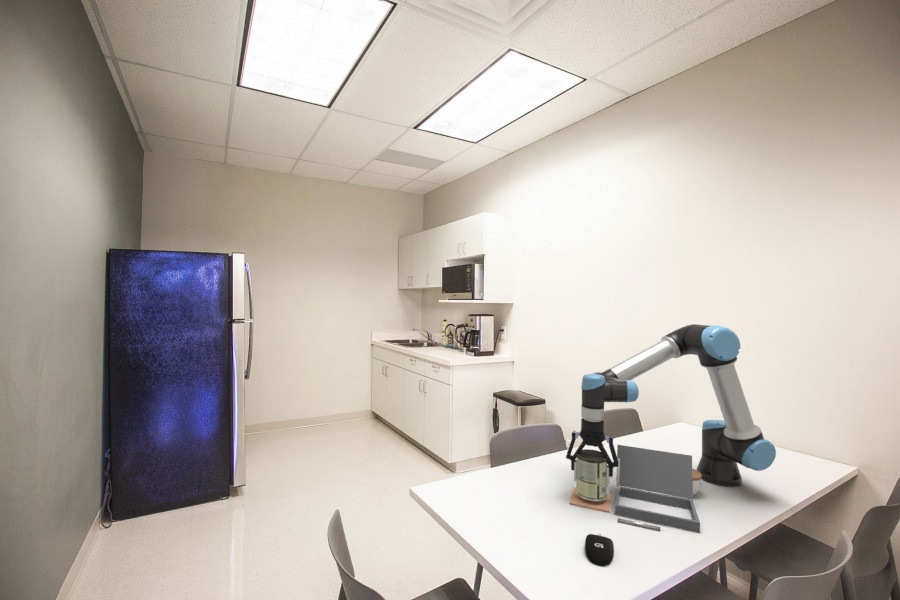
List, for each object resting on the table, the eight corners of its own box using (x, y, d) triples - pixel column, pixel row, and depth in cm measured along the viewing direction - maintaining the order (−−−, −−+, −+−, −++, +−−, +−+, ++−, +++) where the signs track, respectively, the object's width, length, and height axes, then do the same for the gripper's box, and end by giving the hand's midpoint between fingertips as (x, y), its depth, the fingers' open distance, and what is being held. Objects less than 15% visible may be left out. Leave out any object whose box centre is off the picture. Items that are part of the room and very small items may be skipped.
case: (690, 503, 142) (691, 455, 142) (699, 532, 124) (700, 477, 124) (615, 489, 152) (616, 443, 152) (613, 514, 134) (614, 462, 134)
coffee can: (577, 485, 150) (578, 447, 150) (607, 491, 146) (608, 452, 146) (573, 497, 141) (574, 456, 141) (605, 504, 136) (606, 462, 136)
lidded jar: (697, 488, 154) (698, 463, 154) (705, 501, 144) (705, 475, 144) (665, 484, 157) (666, 459, 157) (670, 496, 147) (671, 470, 147)
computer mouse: (583, 563, 108) (583, 548, 108) (586, 539, 120) (586, 525, 120) (613, 570, 106) (613, 555, 106) (613, 545, 117) (614, 531, 117)
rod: (660, 529, 125) (660, 526, 125) (660, 531, 124) (660, 528, 124) (617, 520, 130) (617, 517, 130) (617, 522, 129) (617, 518, 129)
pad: (611, 496, 146) (611, 494, 146) (609, 512, 134) (609, 511, 134) (574, 488, 152) (574, 487, 152) (569, 504, 140) (569, 502, 140)
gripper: (627, 420, 142) (626, 484, 142) (561, 412, 151) (560, 472, 151) (627, 426, 135) (626, 493, 135) (557, 417, 144) (556, 480, 144)
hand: (591, 482), depth 143 cm, fingers closed on coffee can, 10 cm apart
